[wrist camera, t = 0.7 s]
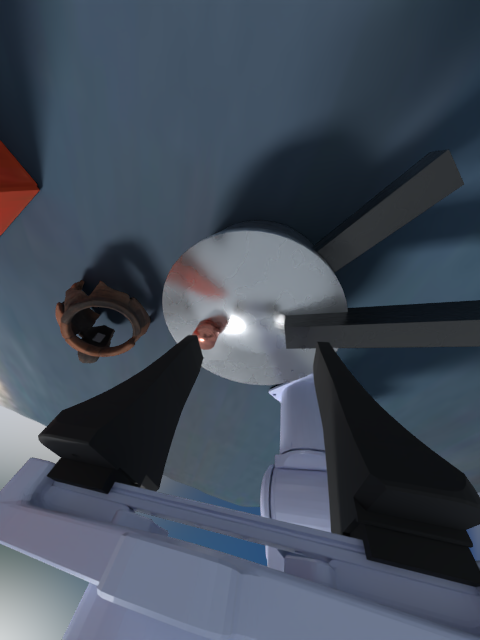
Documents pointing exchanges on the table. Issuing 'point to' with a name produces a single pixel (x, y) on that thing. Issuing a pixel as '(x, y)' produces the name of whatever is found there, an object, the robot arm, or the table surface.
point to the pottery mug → (81, 318)
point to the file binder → (13, 188)
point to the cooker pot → (381, 210)
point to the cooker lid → (288, 309)
